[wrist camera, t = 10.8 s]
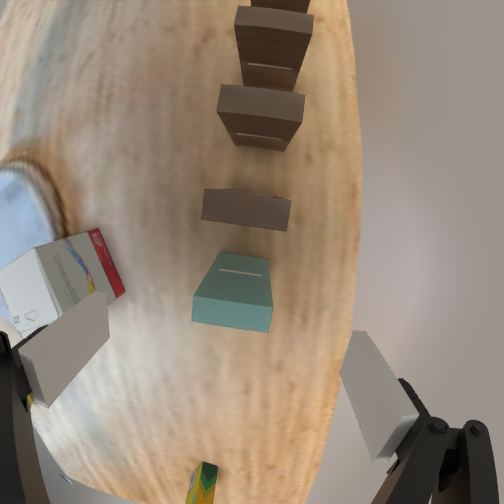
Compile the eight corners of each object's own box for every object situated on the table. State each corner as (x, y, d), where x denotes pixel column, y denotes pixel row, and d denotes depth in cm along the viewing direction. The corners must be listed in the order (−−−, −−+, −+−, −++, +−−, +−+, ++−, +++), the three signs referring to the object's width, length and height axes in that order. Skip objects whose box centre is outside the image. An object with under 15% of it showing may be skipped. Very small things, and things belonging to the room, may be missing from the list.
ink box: (99, 225, 30) (32, 244, 19) (127, 292, 32) (73, 338, 20) (53, 250, 31) (-10, 275, 19) (79, 310, 33) (25, 351, 21)
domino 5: (220, 251, 30) (193, 294, 18) (267, 258, 30) (273, 306, 18) (218, 268, 31) (191, 321, 18) (265, 275, 31) (268, 333, 18)
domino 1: (255, 27, 25) (252, -47, 12) (299, 33, 25) (318, -38, 12) (252, 39, 25) (248, -34, 13) (297, 45, 25) (317, -25, 13)
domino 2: (246, 72, 26) (238, 5, 14) (293, 79, 26) (313, 14, 14) (244, 88, 27) (233, 25, 14) (291, 94, 27) (312, 34, 14)
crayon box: (205, 482, 40) (196, 530, 28) (190, 477, 39) (179, 525, 28) (219, 465, 38) (211, 519, 27) (202, 460, 38) (191, 514, 27)
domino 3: (237, 127, 28) (221, 83, 15) (286, 134, 28) (305, 94, 15) (234, 145, 28) (216, 112, 15) (283, 152, 28) (301, 123, 15)
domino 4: (228, 189, 29) (205, 188, 16) (277, 195, 29) (291, 199, 16) (226, 207, 29) (200, 220, 17) (274, 214, 29) (286, 232, 17)
